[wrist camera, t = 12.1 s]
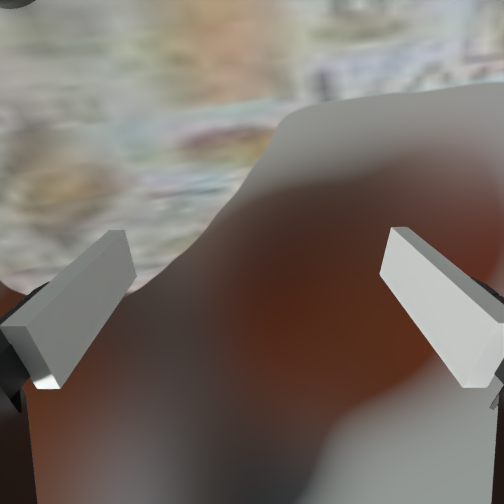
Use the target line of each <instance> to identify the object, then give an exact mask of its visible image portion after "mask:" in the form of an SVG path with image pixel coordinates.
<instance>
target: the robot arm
mask: <svg viewBox="0 0 504 504" xmlns="http://www.w3.org/2000/svg"><path fill="white" fill-rule="evenodd" d="M33 1H34V0H0V8H6V9H14V8H20V7H23V6H26V5H28V4H30V3H32V2H33ZM380 276H381V277H382V278H383V280H384V281H385V282H386V284H387V285H388V287H389V288H390V289H391V291H392V292H393V293H394V295H395V296H396V297H397V299H398V300H399V301H400V303H401V304H402V306H403V307H404V308H405V310H406V311H407V312H408V314H409V315H410V317H411V318H412V319H413V321H414V322H415V323H416V324H417V326H418V327H419V329H420V330H421V331H422V333H423V334H424V336H425V337H426V338H427V340H428V341H429V342H430V344H431V345H432V346H433V348H434V349H435V350H436V352H437V353H438V355H439V356H440V357H441V359H442V360H443V361H444V363H445V364H446V365H447V367H448V368H449V370H450V371H451V372H452V374H453V375H454V376H455V378H456V379H457V380H458V381H459V383H460V384H461V386H462V387H463V388H487V387H488V385H489V383H490V382H491V380H492V378H493V377H494V375H496V376H497V377H498V378H499V379H500V381H501V382H502V383H503V384H504V297H502V296H499V294H498V293H497V292H496V291H494V290H493V289H492V288H491V287H489V286H488V285H486V284H484V283H482V282H480V281H478V280H476V279H475V278H472V277H469V276H467V275H466V274H465V273H464V272H462V271H461V270H460V269H459V268H458V267H456V266H455V265H454V264H452V263H451V262H450V261H449V260H448V259H446V258H445V257H444V256H442V255H441V254H440V253H439V252H438V251H436V250H435V249H434V248H433V247H431V246H430V245H429V244H427V243H426V242H425V241H424V240H423V239H421V238H420V237H419V236H417V235H416V234H415V233H414V232H413V231H411V230H410V229H409V228H408V227H391V231H390V235H389V239H388V243H387V247H386V251H385V255H384V259H383V263H382V267H381V271H380ZM136 277H137V275H136V272H135V268H134V264H133V260H132V256H131V252H130V248H129V245H128V241H127V237H126V233H125V230H109V231H108V232H107V233H106V234H104V235H103V236H102V237H101V238H100V239H99V240H98V241H96V242H95V243H94V244H93V245H92V246H91V247H90V248H88V249H87V250H86V251H85V252H84V253H83V254H81V255H80V256H79V257H78V258H77V259H76V260H75V261H73V262H72V263H71V264H70V265H69V266H68V267H66V268H65V269H64V270H63V271H62V272H61V273H60V274H58V275H57V276H56V277H55V278H54V279H53V280H52V281H50V282H47V283H45V284H44V285H42V286H40V287H38V288H36V289H34V290H33V291H32V292H31V293H30V294H29V295H27V296H26V297H25V298H24V300H21V301H20V302H19V303H18V304H17V305H15V308H12V309H11V310H10V311H8V312H7V313H6V314H5V315H4V316H2V317H1V318H0V504H37V495H36V486H35V476H34V467H33V457H32V447H31V438H30V429H29V419H28V410H27V400H26V394H25V392H24V390H23V388H22V386H23V385H24V383H25V382H26V381H27V380H28V379H29V377H30V378H31V379H32V381H33V383H34V384H35V386H36V387H37V388H38V389H60V388H61V387H62V385H63V384H64V383H65V381H66V380H67V378H68V377H69V375H70V374H71V372H72V370H73V369H74V368H75V366H76V365H77V363H78V362H79V361H80V359H81V358H82V356H83V355H84V353H85V352H86V350H87V349H88V347H89V345H90V344H91V343H92V341H93V340H94V338H95V337H96V335H97V334H98V333H99V331H100V330H101V328H102V327H103V325H104V324H105V322H106V321H107V320H108V318H109V317H110V315H111V314H112V312H113V311H114V309H115V307H116V306H117V304H118V303H119V302H120V300H121V299H122V298H123V296H124V295H125V293H126V292H127V290H128V289H129V287H130V286H131V284H132V283H133V281H134V280H135V278H136ZM496 406H498V419H497V432H496V433H497V434H496V447H495V460H494V474H493V475H494V476H493V490H492V503H491V504H504V386H503V387H502V389H501V390H500V392H499V393H498V395H497V396H496V398H495V399H494V401H493V402H492V404H491V406H490V408H491V409H493V410H494V409H495V407H496Z"/></svg>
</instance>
